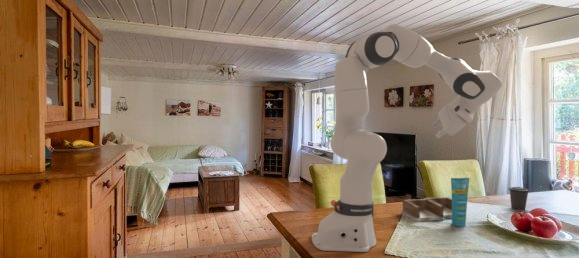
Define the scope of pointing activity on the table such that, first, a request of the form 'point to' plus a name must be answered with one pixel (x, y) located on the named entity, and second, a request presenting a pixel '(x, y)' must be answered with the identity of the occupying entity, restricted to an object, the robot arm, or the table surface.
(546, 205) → the table surface
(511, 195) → the coffee cup
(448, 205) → the endcap
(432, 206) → the brown wooden open box
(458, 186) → the tube
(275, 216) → the table surface
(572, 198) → the table surface
